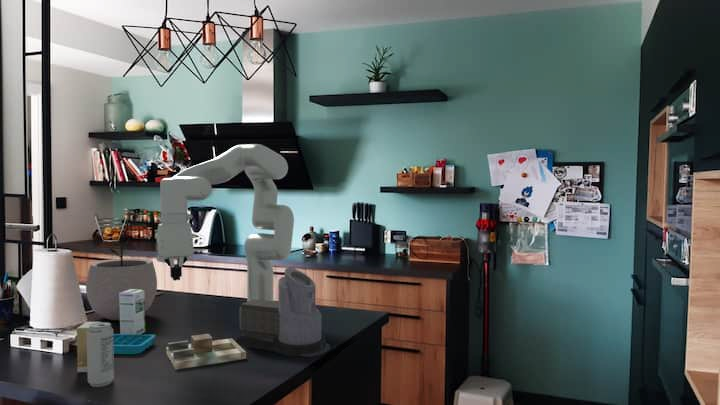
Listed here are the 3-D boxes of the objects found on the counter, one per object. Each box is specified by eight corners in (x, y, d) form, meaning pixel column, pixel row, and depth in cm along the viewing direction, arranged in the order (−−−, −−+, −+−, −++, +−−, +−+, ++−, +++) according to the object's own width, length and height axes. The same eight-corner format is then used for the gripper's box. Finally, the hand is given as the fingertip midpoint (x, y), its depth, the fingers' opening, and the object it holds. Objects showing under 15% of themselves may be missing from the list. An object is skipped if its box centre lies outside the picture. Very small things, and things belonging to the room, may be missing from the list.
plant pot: (79, 316, 204) (78, 236, 203) (145, 307, 219) (145, 232, 217) (95, 331, 185) (94, 242, 184) (166, 320, 200) (165, 238, 199)
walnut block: (208, 346, 162) (208, 333, 162) (212, 351, 158) (212, 338, 158) (191, 349, 160) (191, 335, 160) (194, 354, 156) (194, 340, 156)
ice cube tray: (141, 356, 161) (141, 346, 161) (73, 354, 162) (73, 344, 162) (157, 344, 173) (157, 334, 173) (94, 343, 173) (93, 333, 173)
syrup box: (135, 337, 179) (135, 292, 178) (119, 335, 180) (118, 292, 179) (145, 332, 184) (145, 289, 184) (130, 331, 186) (129, 288, 185)
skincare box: (86, 364, 152) (85, 321, 152) (102, 364, 153) (102, 321, 152) (76, 373, 146) (75, 327, 145) (93, 372, 146) (92, 327, 146)
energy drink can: (100, 377, 143) (99, 320, 142) (119, 380, 141) (118, 322, 140) (82, 386, 137) (81, 326, 136) (101, 389, 135) (101, 328, 134)
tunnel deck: (231, 344, 171) (231, 331, 171) (245, 358, 158) (245, 345, 158) (166, 353, 162) (166, 340, 162) (175, 369, 149) (175, 355, 149)
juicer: (337, 344, 173) (338, 267, 172) (315, 359, 158) (315, 275, 157) (256, 333, 184) (256, 261, 183) (228, 347, 169) (227, 268, 168)
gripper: (196, 216, 171) (198, 274, 173) (146, 219, 164) (148, 280, 165) (202, 218, 165) (204, 279, 166) (150, 221, 157) (152, 284, 159)
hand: (176, 279), depth 166 cm, fingers closed
